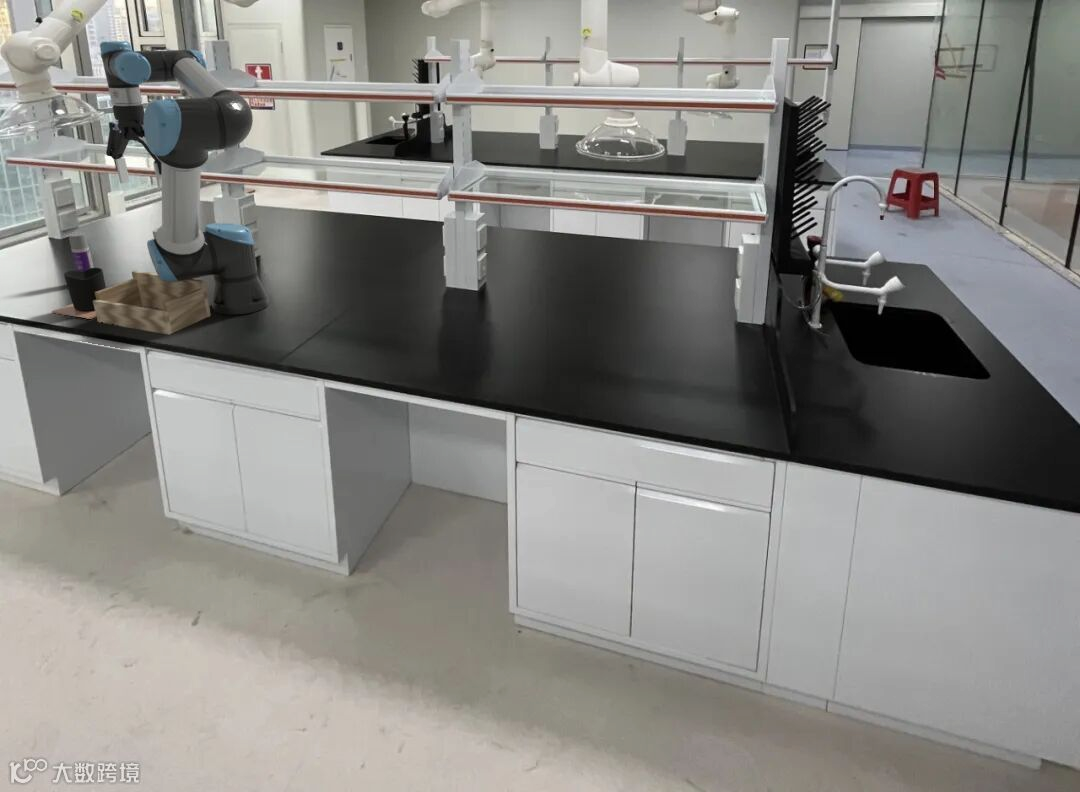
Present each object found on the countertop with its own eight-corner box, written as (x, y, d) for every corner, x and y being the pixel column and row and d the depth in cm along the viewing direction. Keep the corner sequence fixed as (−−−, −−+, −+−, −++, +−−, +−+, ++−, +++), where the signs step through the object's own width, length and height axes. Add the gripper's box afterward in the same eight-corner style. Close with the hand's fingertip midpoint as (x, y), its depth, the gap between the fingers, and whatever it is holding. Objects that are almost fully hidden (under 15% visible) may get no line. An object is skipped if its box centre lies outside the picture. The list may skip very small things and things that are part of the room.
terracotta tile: (131, 304, 230) (130, 302, 229) (90, 320, 218) (89, 318, 217) (94, 298, 234) (93, 296, 234) (52, 313, 222) (51, 311, 222)
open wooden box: (210, 315, 222) (204, 280, 217) (168, 334, 209) (161, 297, 204) (142, 304, 230) (134, 270, 225) (97, 322, 217) (89, 286, 212)
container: (78, 285, 244) (66, 236, 238) (81, 281, 248) (69, 233, 242) (95, 284, 245) (83, 235, 239) (98, 279, 250) (87, 232, 243)
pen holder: (96, 313, 221) (87, 278, 216) (65, 311, 222) (56, 276, 218) (117, 302, 229) (109, 268, 225) (87, 300, 231) (79, 266, 226)
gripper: (80, 103, 217) (98, 183, 226) (152, 107, 209) (168, 190, 218) (103, 100, 223) (120, 178, 232) (174, 104, 215) (188, 185, 224)
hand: (143, 184), depth 225 cm, fingers open, 13 cm apart
